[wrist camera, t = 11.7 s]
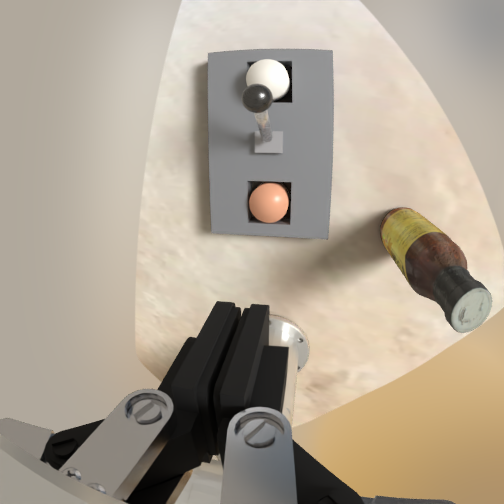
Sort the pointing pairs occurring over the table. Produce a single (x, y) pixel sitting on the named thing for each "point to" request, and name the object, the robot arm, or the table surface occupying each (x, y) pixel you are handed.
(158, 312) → the table surface
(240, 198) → the control panel
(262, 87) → the toggle lever
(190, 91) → the table surface
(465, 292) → the sauce bottle
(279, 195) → the terracotta button
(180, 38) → the table surface
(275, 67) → the offwhite button
